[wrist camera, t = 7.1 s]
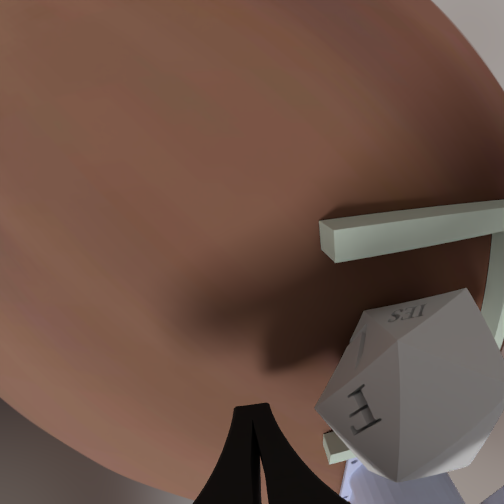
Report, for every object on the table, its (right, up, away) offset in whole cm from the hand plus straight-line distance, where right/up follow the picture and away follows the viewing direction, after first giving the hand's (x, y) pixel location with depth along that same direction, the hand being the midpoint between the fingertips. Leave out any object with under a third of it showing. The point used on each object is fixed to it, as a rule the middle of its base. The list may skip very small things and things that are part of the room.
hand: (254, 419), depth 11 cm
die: (+7, +2, +3) cm, 8 cm away
